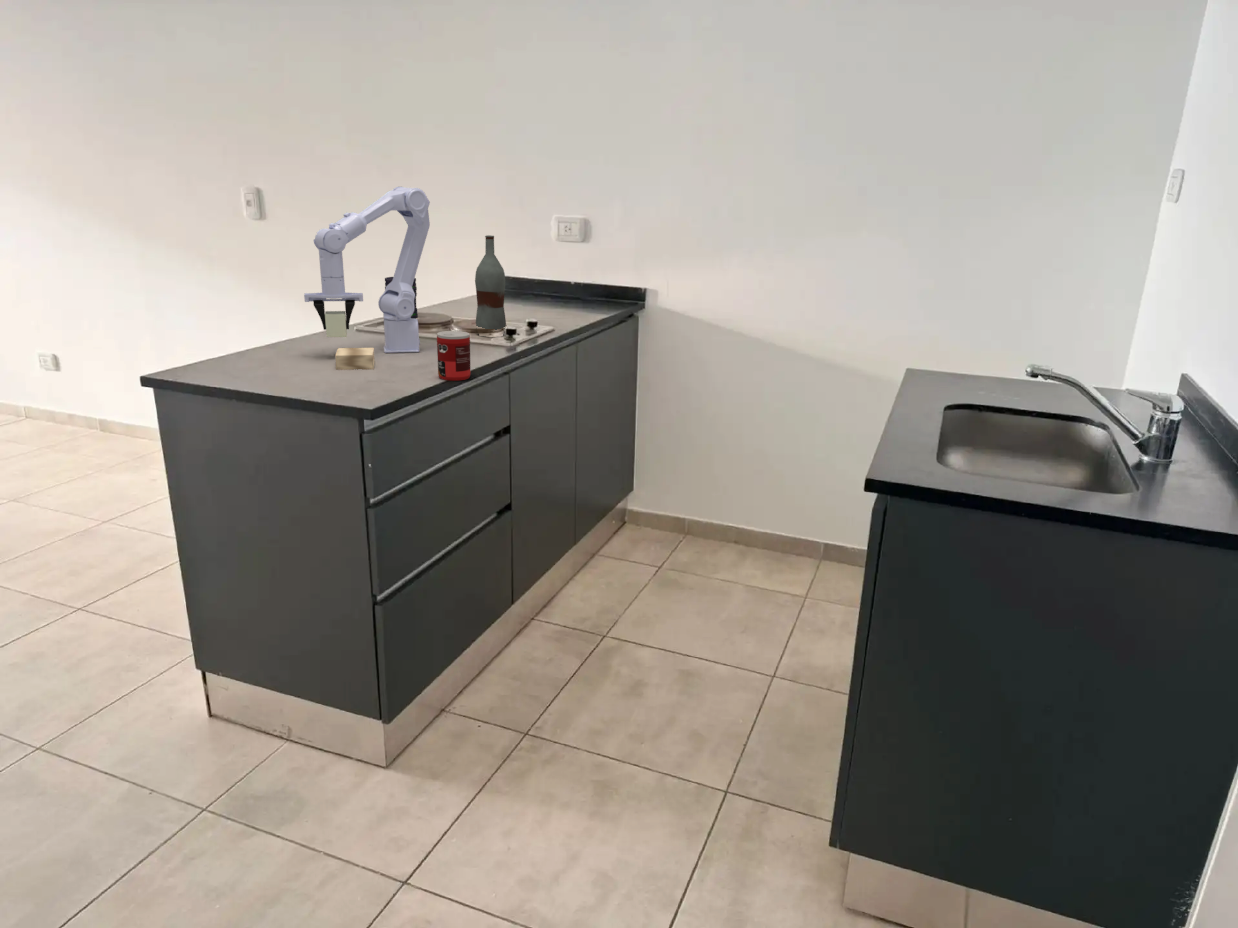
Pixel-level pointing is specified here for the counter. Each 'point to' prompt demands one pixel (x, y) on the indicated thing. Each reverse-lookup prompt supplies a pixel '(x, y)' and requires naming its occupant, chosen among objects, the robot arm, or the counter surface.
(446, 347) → the canned food
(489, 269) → the bottle
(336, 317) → the sage block
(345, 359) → the maple slab
